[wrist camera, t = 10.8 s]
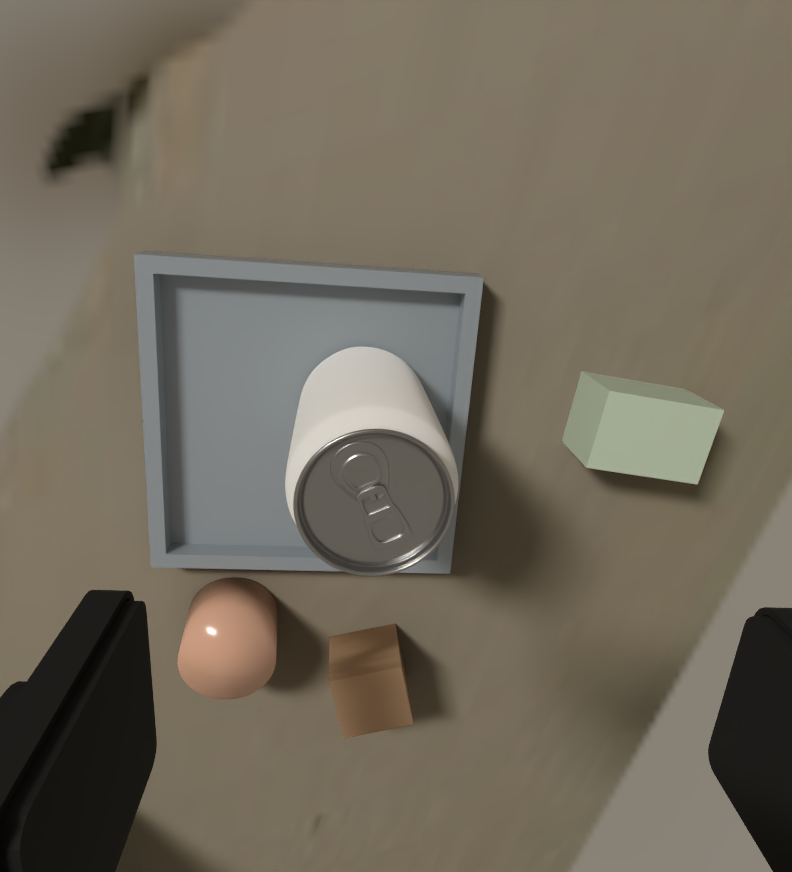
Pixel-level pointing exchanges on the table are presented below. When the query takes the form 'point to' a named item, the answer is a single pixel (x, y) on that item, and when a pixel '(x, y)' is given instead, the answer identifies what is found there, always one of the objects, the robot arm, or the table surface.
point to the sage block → (641, 428)
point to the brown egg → (229, 639)
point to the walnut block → (369, 681)
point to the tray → (274, 389)
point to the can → (369, 465)
